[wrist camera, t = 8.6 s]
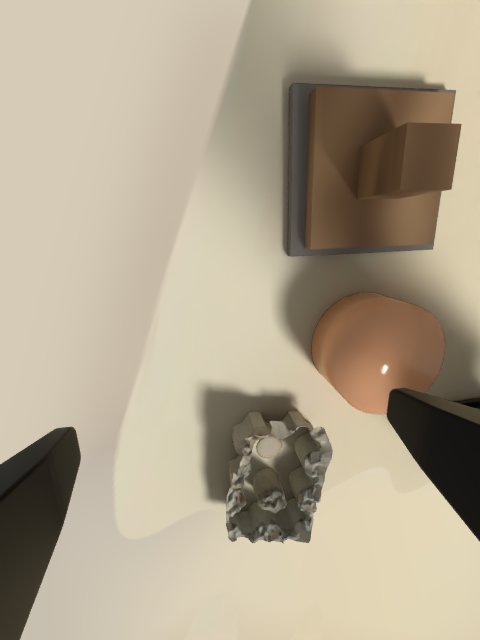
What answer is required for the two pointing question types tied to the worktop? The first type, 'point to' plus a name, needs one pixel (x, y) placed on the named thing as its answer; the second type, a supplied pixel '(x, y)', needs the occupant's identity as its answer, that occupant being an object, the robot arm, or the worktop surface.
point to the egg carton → (276, 480)
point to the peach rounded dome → (377, 349)
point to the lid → (377, 166)
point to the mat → (299, 175)
